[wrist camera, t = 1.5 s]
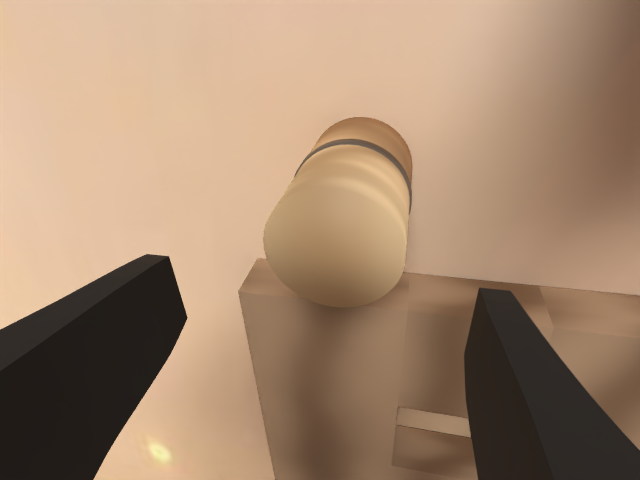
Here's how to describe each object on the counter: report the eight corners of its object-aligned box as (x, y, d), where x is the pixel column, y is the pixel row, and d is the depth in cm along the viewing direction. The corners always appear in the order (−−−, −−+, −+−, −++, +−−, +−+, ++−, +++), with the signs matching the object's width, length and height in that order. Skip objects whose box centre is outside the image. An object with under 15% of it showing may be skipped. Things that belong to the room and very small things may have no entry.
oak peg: (418, 117, 15) (414, 190, 10) (409, 216, 17) (402, 316, 12) (307, 114, 15) (252, 181, 10) (313, 209, 18) (269, 300, 13)
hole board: (742, 305, 16) (788, 355, 14) (591, 518, 26) (605, 565, 24) (257, 258, 20) (238, 291, 18) (288, 457, 30) (278, 493, 28)
